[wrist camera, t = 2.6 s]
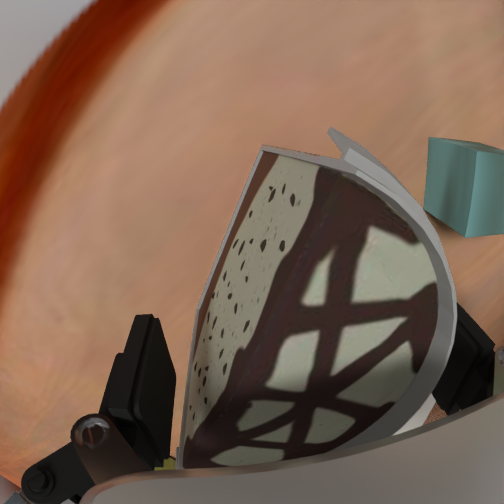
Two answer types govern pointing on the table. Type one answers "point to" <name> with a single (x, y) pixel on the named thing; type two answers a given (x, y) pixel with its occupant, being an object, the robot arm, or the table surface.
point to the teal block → (465, 186)
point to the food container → (316, 314)
